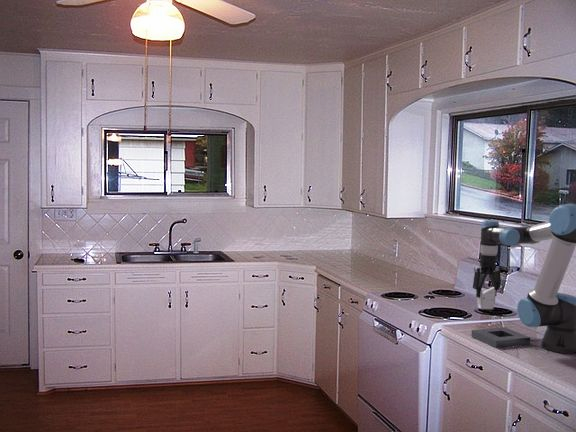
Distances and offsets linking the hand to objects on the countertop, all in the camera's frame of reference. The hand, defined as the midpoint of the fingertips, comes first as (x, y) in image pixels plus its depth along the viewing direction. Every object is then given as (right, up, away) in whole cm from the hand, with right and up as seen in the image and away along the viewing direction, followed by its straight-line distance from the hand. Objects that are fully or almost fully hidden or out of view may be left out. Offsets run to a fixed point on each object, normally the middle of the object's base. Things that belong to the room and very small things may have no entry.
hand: (485, 303), depth 283 cm
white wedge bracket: (0, -2, 0) cm, 2 cm away
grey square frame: (+1, -14, -16) cm, 21 cm away
